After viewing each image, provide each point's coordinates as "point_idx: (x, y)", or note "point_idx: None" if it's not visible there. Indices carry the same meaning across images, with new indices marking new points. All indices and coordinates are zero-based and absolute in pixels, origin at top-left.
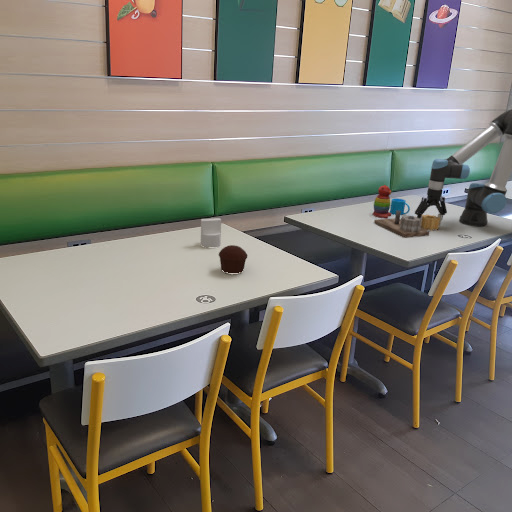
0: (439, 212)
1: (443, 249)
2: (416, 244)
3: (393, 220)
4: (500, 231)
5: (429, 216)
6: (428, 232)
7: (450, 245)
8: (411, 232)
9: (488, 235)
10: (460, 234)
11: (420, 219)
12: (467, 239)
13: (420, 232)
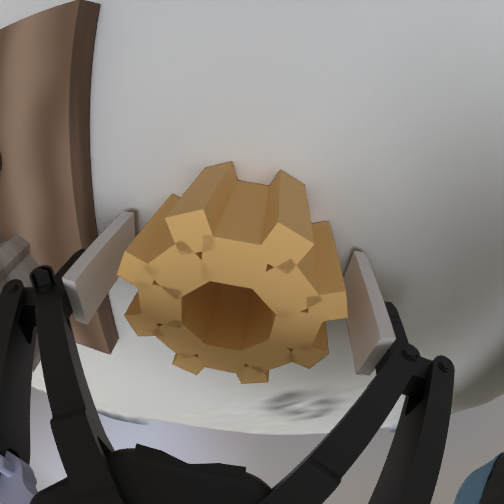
0: (385, 364)
1: (97, 405)
2: None
3: (6, 75)
4: (498, 389)
5: (256, 289)
6: (107, 350)
7: (141, 411)
8: None
9: None
10: (319, 391)
11: None
12: (273, 420)
13: None
